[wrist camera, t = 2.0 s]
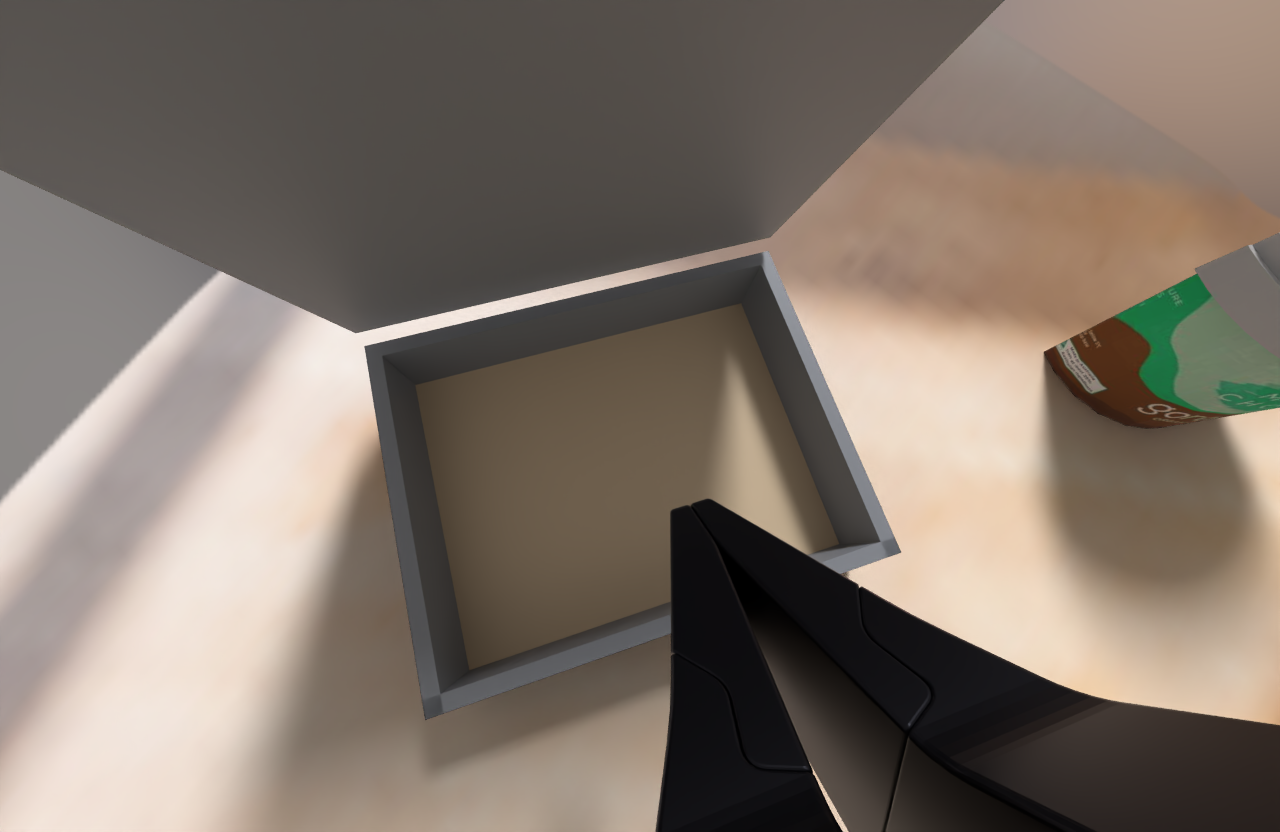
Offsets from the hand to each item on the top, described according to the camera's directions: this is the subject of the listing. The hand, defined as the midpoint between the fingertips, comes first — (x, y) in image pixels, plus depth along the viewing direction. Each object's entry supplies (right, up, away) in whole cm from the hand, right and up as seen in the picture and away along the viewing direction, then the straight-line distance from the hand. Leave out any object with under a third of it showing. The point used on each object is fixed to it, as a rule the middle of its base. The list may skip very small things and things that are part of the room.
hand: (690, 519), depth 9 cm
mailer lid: (-3, +8, +3) cm, 9 cm away
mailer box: (-2, 0, +13) cm, 13 cm away
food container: (+26, +3, +16) cm, 31 cm away
